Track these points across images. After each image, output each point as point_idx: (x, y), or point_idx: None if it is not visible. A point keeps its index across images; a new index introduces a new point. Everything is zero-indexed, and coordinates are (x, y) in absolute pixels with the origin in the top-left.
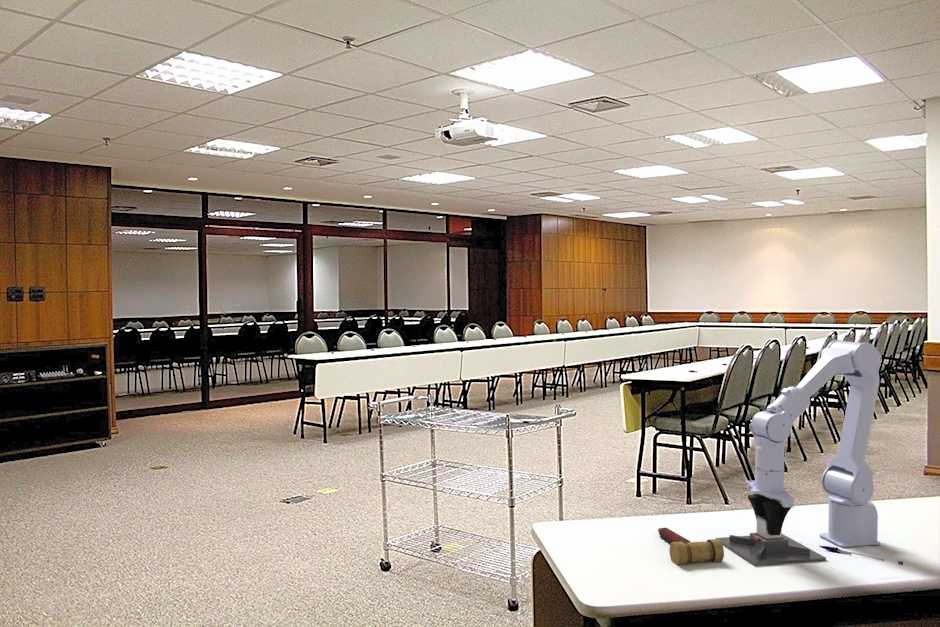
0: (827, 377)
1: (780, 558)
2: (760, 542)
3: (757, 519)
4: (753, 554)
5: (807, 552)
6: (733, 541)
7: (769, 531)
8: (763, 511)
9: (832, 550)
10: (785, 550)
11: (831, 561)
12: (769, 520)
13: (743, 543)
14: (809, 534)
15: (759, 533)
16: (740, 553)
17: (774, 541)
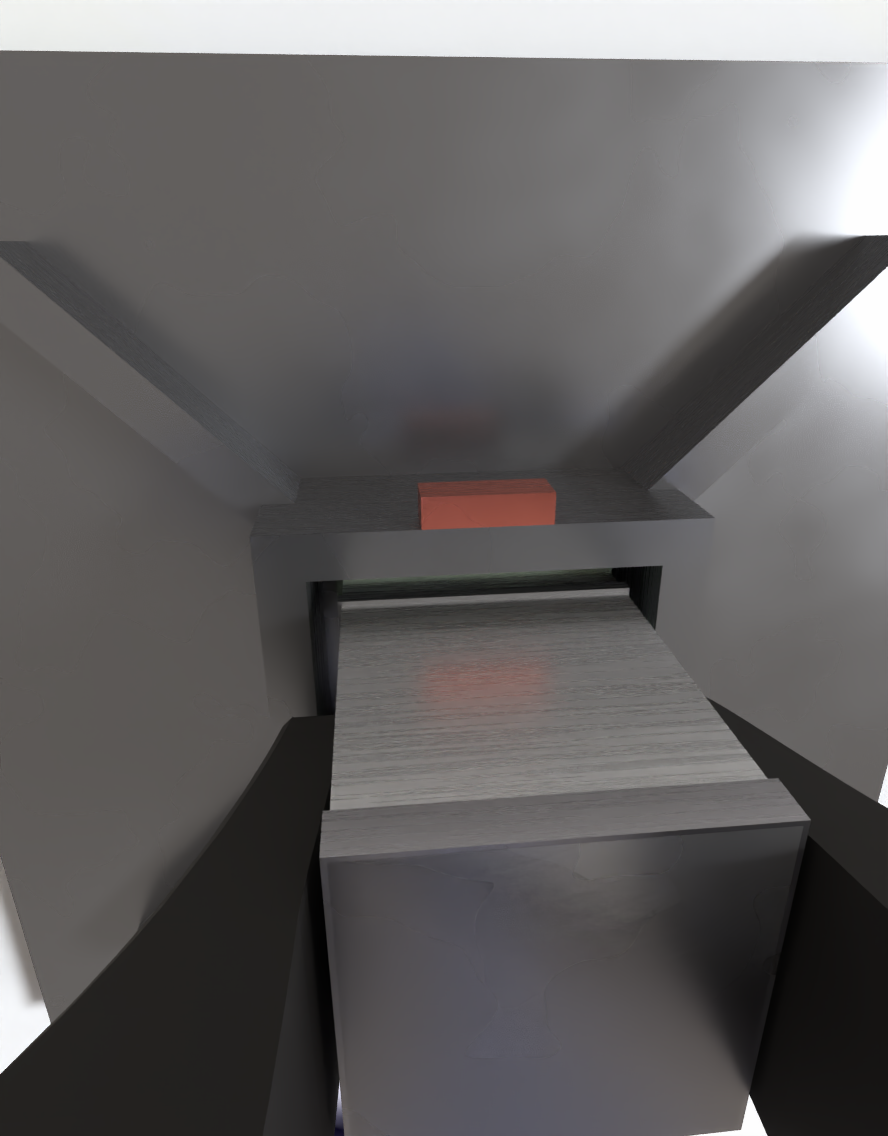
0: None
1: (21, 579)
2: (367, 512)
3: (716, 759)
4: (218, 281)
5: None
6: (818, 282)
7: (306, 740)
8: (827, 1053)
9: (342, 1133)
10: None
11: (44, 1028)
12: (185, 914)
13: (695, 390)
14: (760, 1129)
15: (549, 619)
16: (284, 71)
17: (271, 703)
